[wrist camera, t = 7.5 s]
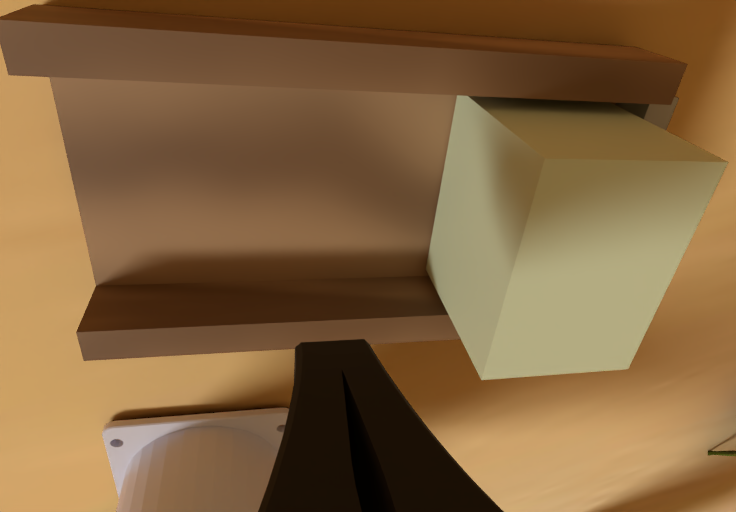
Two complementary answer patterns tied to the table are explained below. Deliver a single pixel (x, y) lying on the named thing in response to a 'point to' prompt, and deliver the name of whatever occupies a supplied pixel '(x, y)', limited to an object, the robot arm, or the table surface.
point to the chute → (278, 166)
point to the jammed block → (561, 231)
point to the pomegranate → (722, 453)
